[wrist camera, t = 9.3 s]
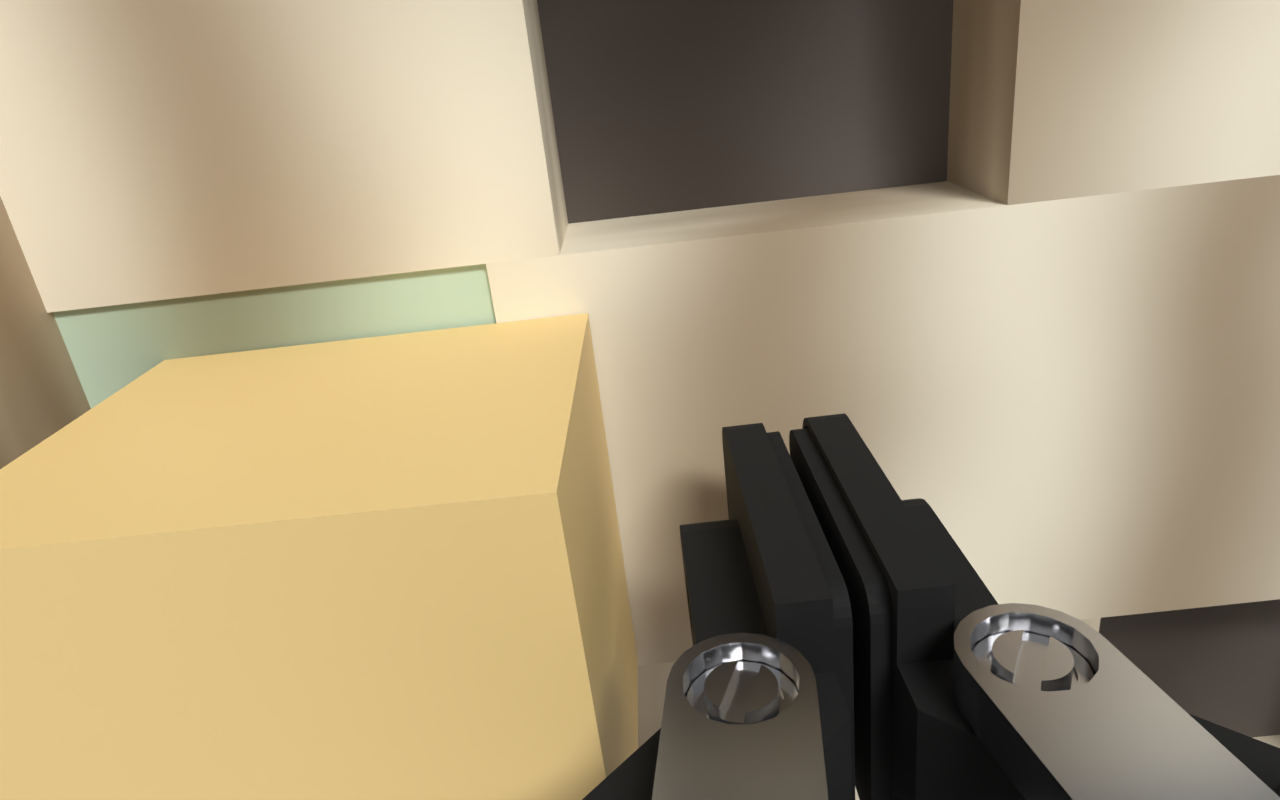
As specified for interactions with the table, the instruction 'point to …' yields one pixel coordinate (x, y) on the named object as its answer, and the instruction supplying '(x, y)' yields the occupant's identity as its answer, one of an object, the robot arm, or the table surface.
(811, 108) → the cream sorting tray
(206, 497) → the ochre block
